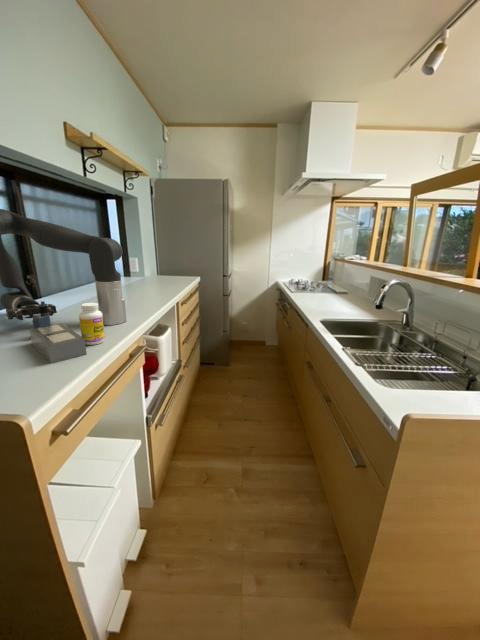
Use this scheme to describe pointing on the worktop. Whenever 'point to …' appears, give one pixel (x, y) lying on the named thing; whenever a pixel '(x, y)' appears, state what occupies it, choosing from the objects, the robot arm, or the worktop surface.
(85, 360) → the worktop surface
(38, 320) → the vaping device
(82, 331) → the supplement bottle
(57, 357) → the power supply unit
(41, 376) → the worktop surface
